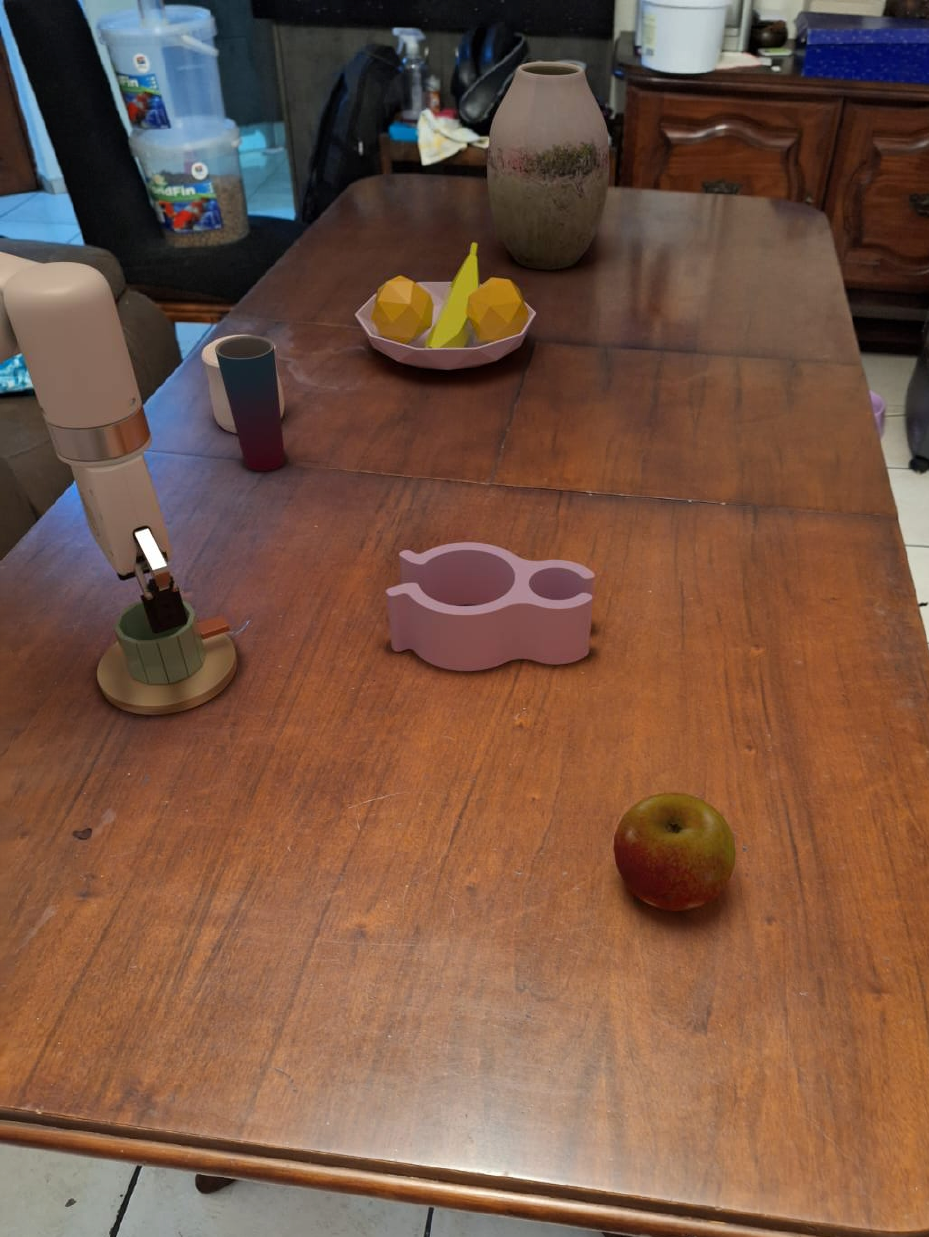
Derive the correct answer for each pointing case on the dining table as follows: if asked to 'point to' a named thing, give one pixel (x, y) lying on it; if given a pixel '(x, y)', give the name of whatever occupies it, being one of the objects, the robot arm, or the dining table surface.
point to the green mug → (163, 645)
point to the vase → (548, 165)
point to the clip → (489, 607)
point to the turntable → (169, 696)
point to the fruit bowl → (447, 319)
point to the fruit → (674, 851)
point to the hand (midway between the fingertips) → (152, 600)
